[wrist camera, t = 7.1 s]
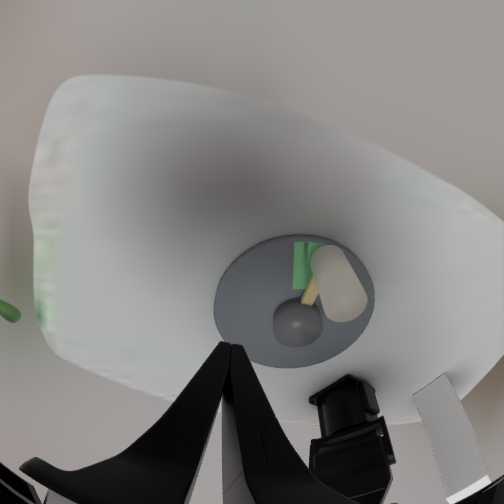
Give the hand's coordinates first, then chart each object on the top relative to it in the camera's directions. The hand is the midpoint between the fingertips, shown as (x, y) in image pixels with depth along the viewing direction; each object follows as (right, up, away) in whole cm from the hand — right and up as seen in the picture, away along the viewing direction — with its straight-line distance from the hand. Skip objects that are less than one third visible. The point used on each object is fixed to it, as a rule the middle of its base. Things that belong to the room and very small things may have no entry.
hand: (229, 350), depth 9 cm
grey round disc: (+5, -1, +14) cm, 15 cm away
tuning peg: (+5, 0, +12) cm, 13 cm away
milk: (+29, -18, +21) cm, 40 cm away
